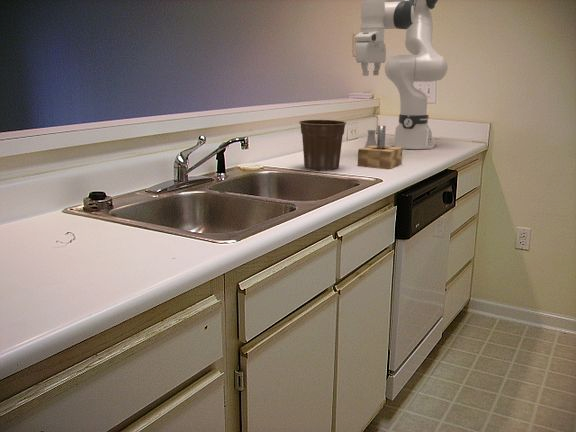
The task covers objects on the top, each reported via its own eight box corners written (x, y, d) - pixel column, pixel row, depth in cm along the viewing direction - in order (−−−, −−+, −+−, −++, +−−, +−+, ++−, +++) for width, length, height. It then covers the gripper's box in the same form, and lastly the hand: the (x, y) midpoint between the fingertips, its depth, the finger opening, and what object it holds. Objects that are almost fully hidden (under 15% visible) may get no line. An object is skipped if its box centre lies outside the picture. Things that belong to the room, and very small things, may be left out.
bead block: (371, 161, 214) (371, 145, 212) (401, 163, 208) (402, 147, 206) (357, 165, 204) (358, 149, 202) (389, 168, 198) (389, 151, 196)
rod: (378, 164, 208) (379, 125, 204) (385, 164, 206) (386, 125, 203) (374, 165, 205) (376, 126, 202) (382, 165, 204) (383, 126, 200)
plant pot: (353, 166, 202) (354, 121, 198) (330, 173, 189) (331, 124, 185) (314, 162, 211) (315, 118, 207) (290, 169, 198) (290, 122, 194)
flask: (379, 157, 223) (380, 131, 221) (360, 156, 225) (361, 131, 222) (380, 154, 230) (381, 129, 228) (362, 154, 232) (363, 129, 229)
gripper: (375, 38, 221) (374, 75, 225) (352, 36, 205) (351, 76, 208) (390, 38, 218) (389, 75, 222) (368, 35, 201) (367, 76, 205)
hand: (370, 75), depth 215 cm, fingers open, 8 cm apart
